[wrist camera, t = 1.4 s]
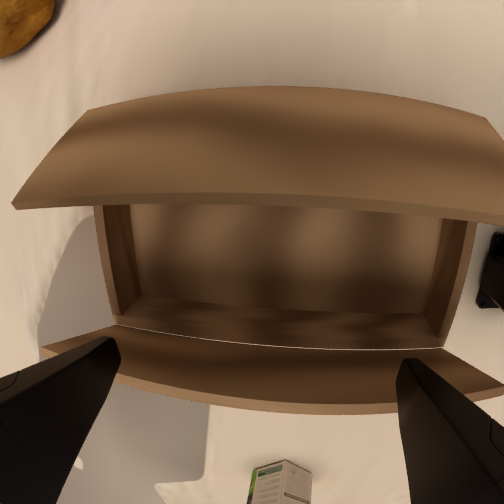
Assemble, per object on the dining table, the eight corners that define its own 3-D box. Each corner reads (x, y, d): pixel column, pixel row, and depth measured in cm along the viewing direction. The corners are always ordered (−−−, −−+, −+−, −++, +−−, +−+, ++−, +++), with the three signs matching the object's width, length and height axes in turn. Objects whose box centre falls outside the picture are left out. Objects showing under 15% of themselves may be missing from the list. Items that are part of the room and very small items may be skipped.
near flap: (90, 116, 15) (87, 110, 15) (482, 124, 12) (485, 117, 11) (16, 209, 10) (11, 202, 10) (549, 233, 7) (555, 225, 7)
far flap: (441, 348, 17) (440, 354, 17) (116, 324, 20) (116, 331, 20) (505, 385, 9) (503, 395, 9) (40, 347, 12) (41, 355, 12)
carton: (454, 127, 15) (484, 125, 12) (426, 318, 20) (443, 347, 17) (121, 119, 19) (89, 117, 15) (138, 299, 24) (114, 323, 20)
